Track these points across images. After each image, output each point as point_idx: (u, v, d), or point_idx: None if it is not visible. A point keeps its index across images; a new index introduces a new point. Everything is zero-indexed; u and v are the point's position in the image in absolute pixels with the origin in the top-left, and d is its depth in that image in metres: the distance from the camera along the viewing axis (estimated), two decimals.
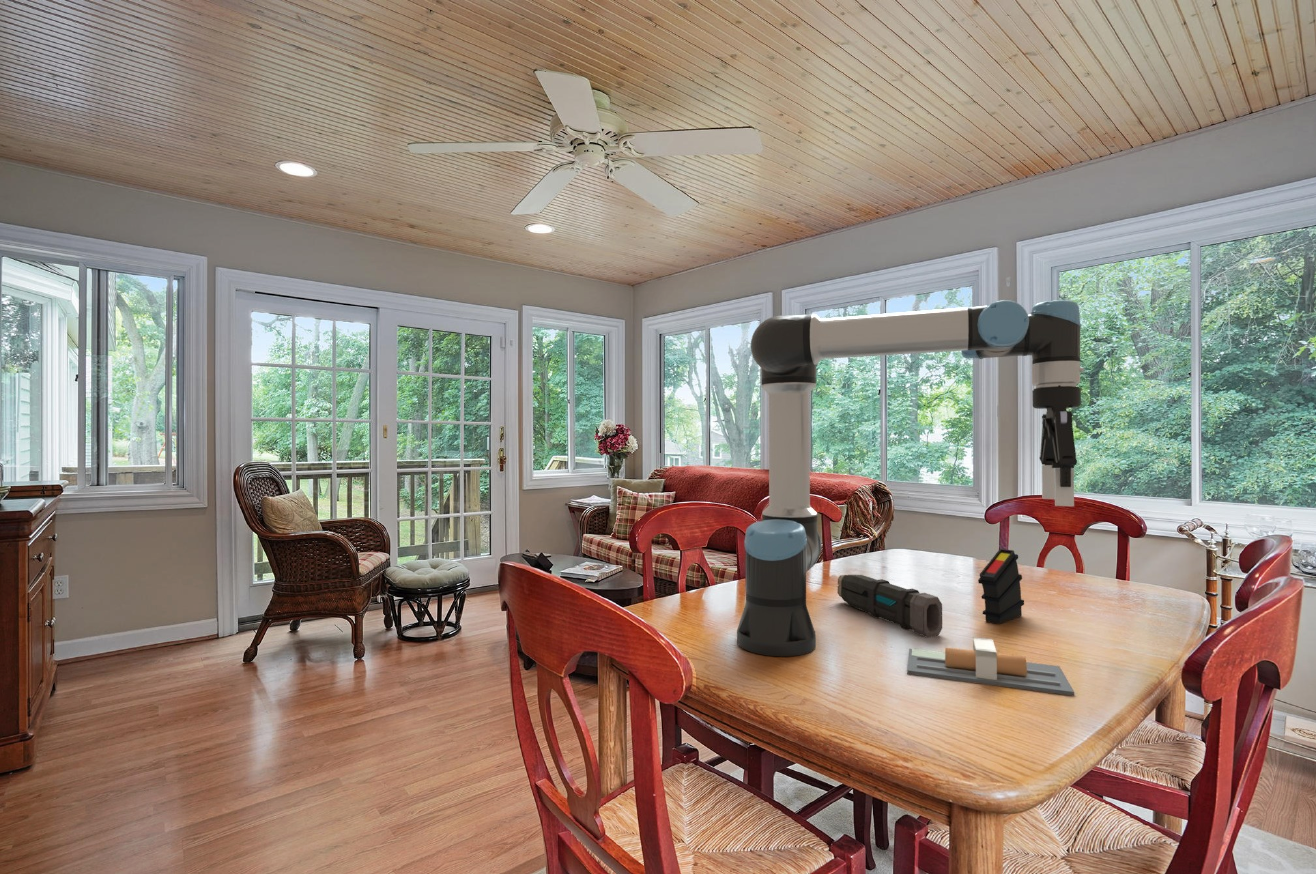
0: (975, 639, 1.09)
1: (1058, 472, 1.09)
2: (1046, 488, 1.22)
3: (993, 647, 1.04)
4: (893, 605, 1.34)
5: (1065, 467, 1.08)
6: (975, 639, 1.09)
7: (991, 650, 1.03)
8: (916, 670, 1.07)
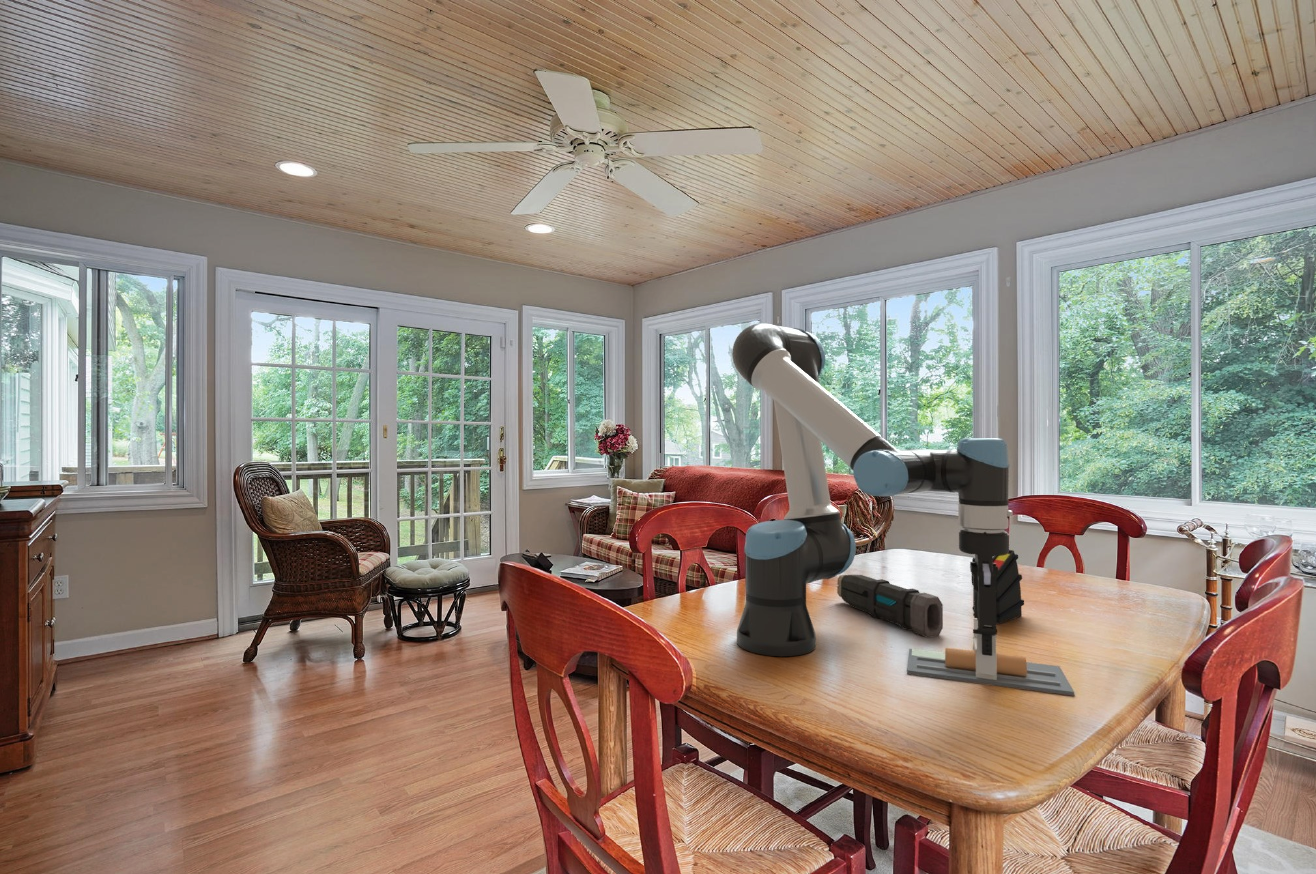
0: (975, 639, 1.09)
1: (980, 637, 1.02)
2: None
3: None
4: (893, 605, 1.34)
5: (986, 635, 1.01)
6: (975, 639, 1.09)
7: None
8: (916, 670, 1.07)
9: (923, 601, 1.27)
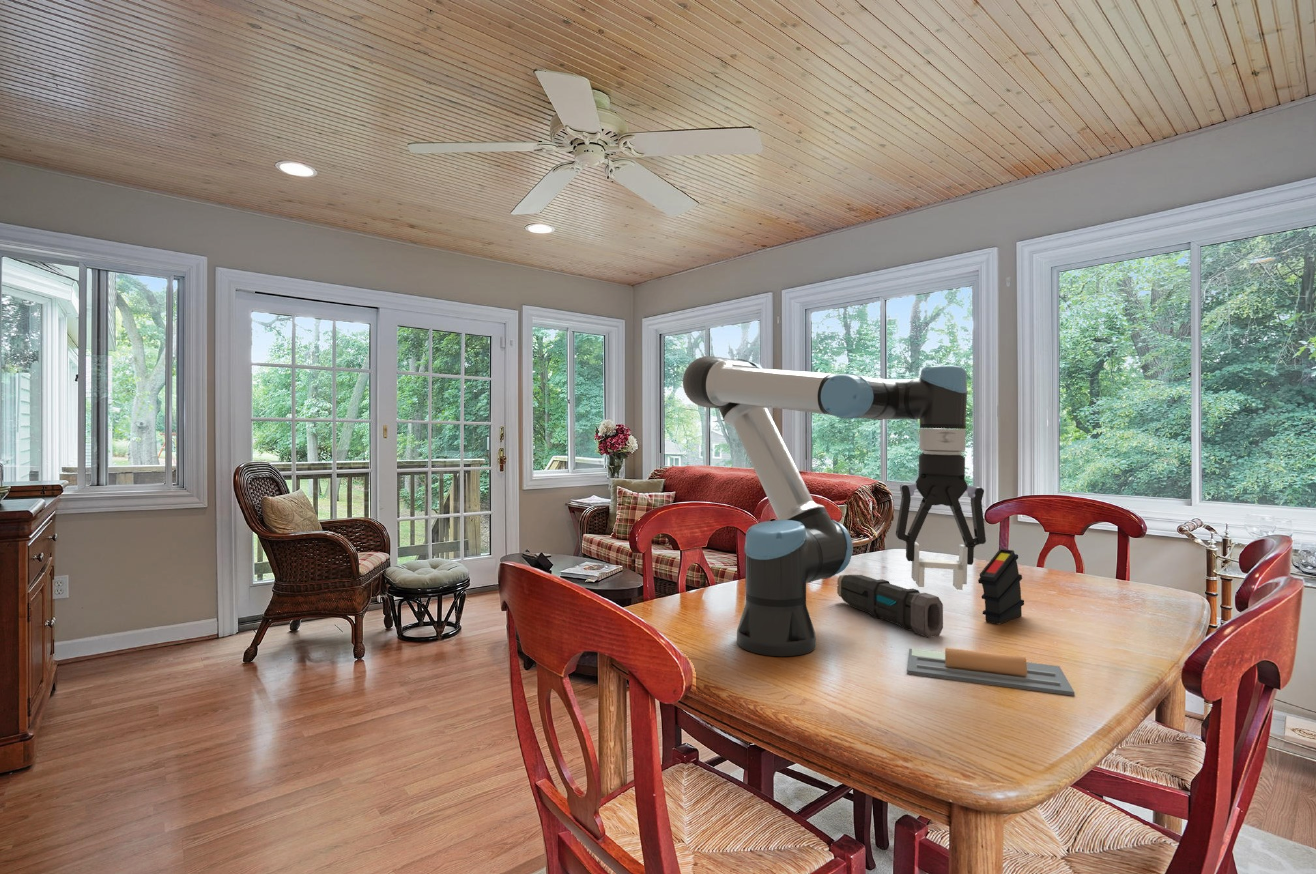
0: (951, 560, 1.13)
1: None
2: None
3: (932, 562, 1.12)
4: (893, 605, 1.34)
5: (905, 541, 1.14)
6: (952, 560, 1.13)
7: (922, 561, 1.12)
8: (916, 670, 1.07)
9: (923, 601, 1.27)
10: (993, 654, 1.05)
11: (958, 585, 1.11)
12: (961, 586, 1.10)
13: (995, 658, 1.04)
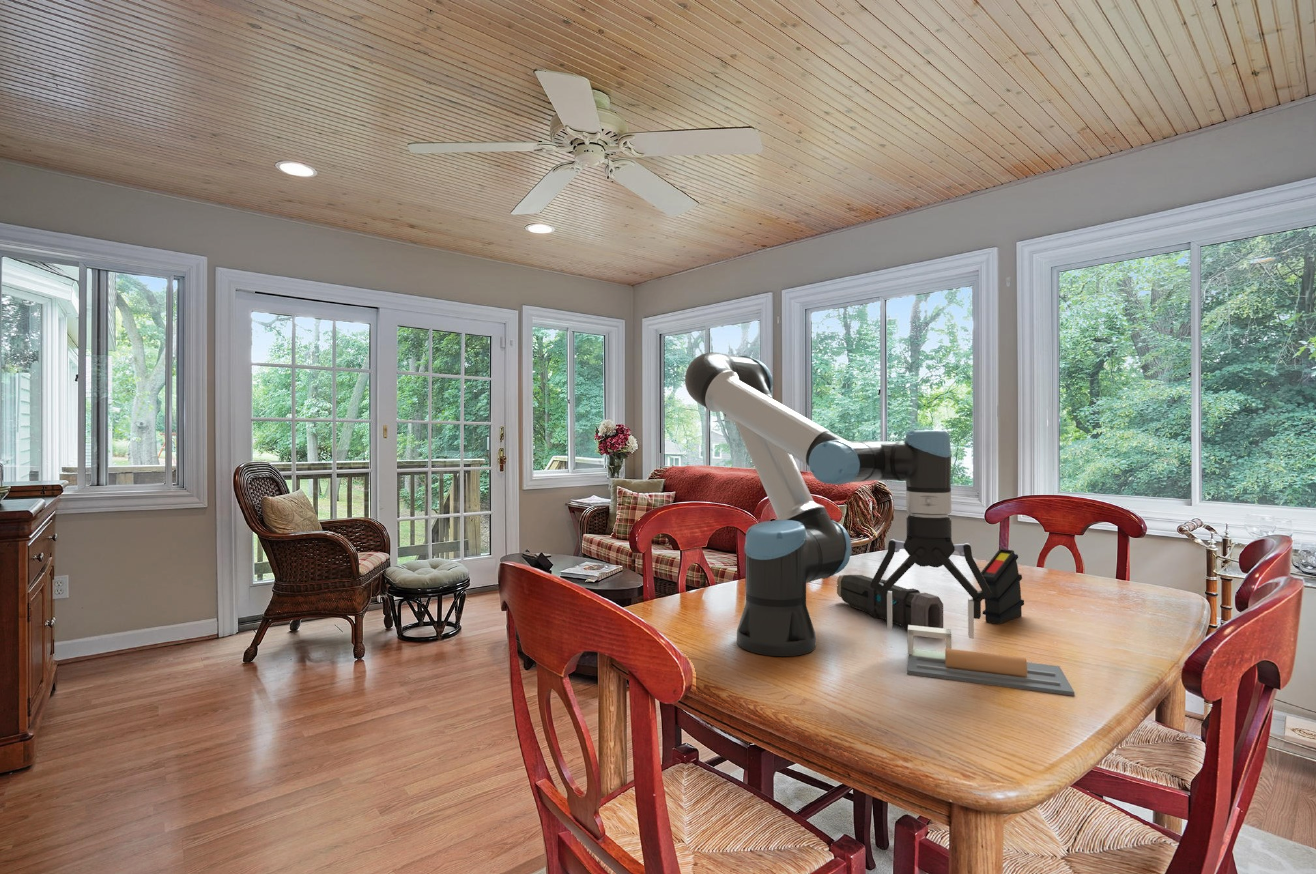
0: None
1: None
2: (968, 623, 1.12)
3: (920, 630, 1.14)
4: (894, 605, 1.34)
5: None
6: (943, 629, 1.14)
7: (911, 628, 1.15)
8: (916, 670, 1.07)
9: (924, 601, 1.27)
10: (993, 656, 1.05)
11: None
12: None
13: (996, 661, 1.04)
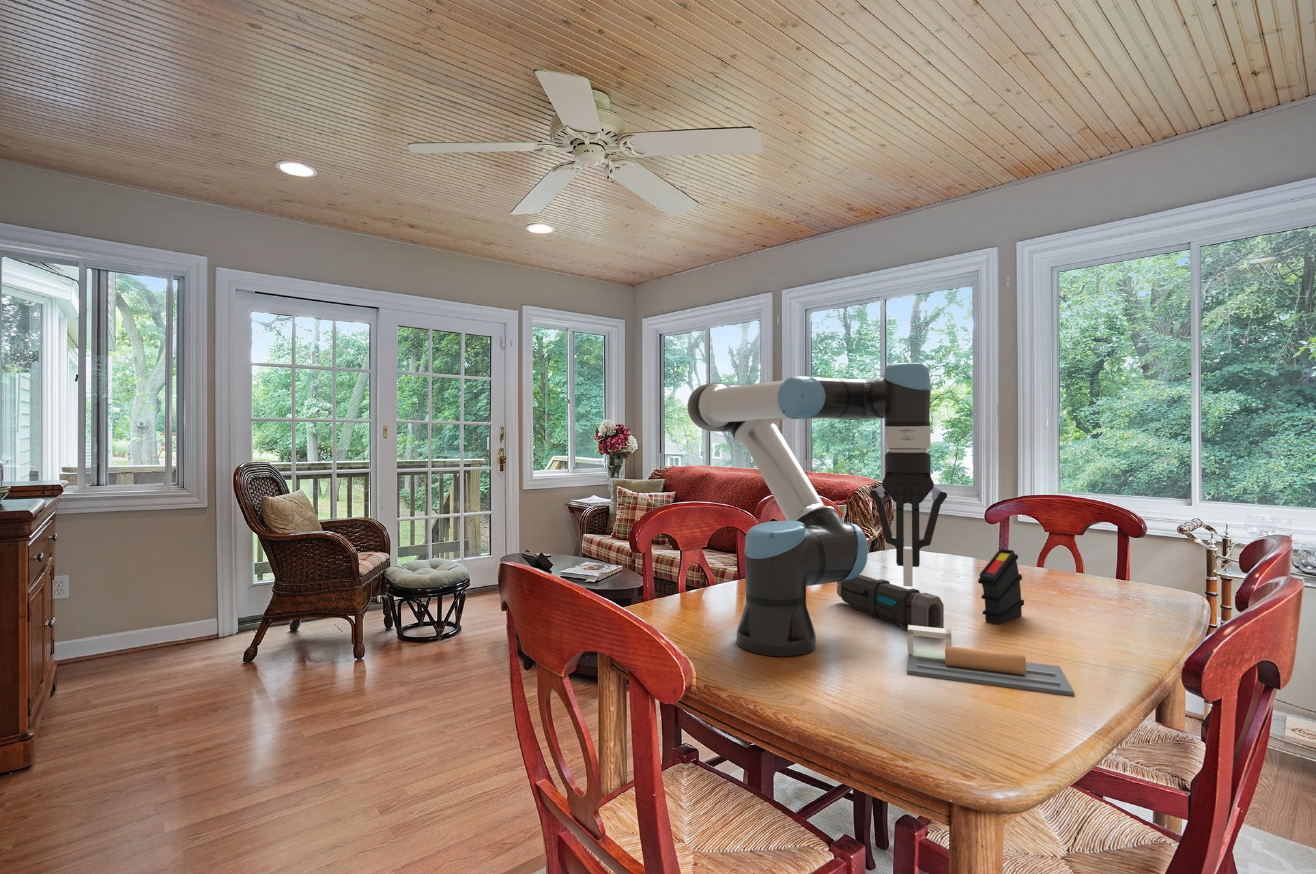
0: None
1: None
2: None
3: (920, 630, 1.14)
4: (894, 605, 1.34)
5: (894, 545, 1.12)
6: (943, 629, 1.14)
7: (911, 628, 1.15)
8: (916, 670, 1.07)
9: (924, 601, 1.27)
10: None
11: None
12: None
13: (994, 652, 1.06)
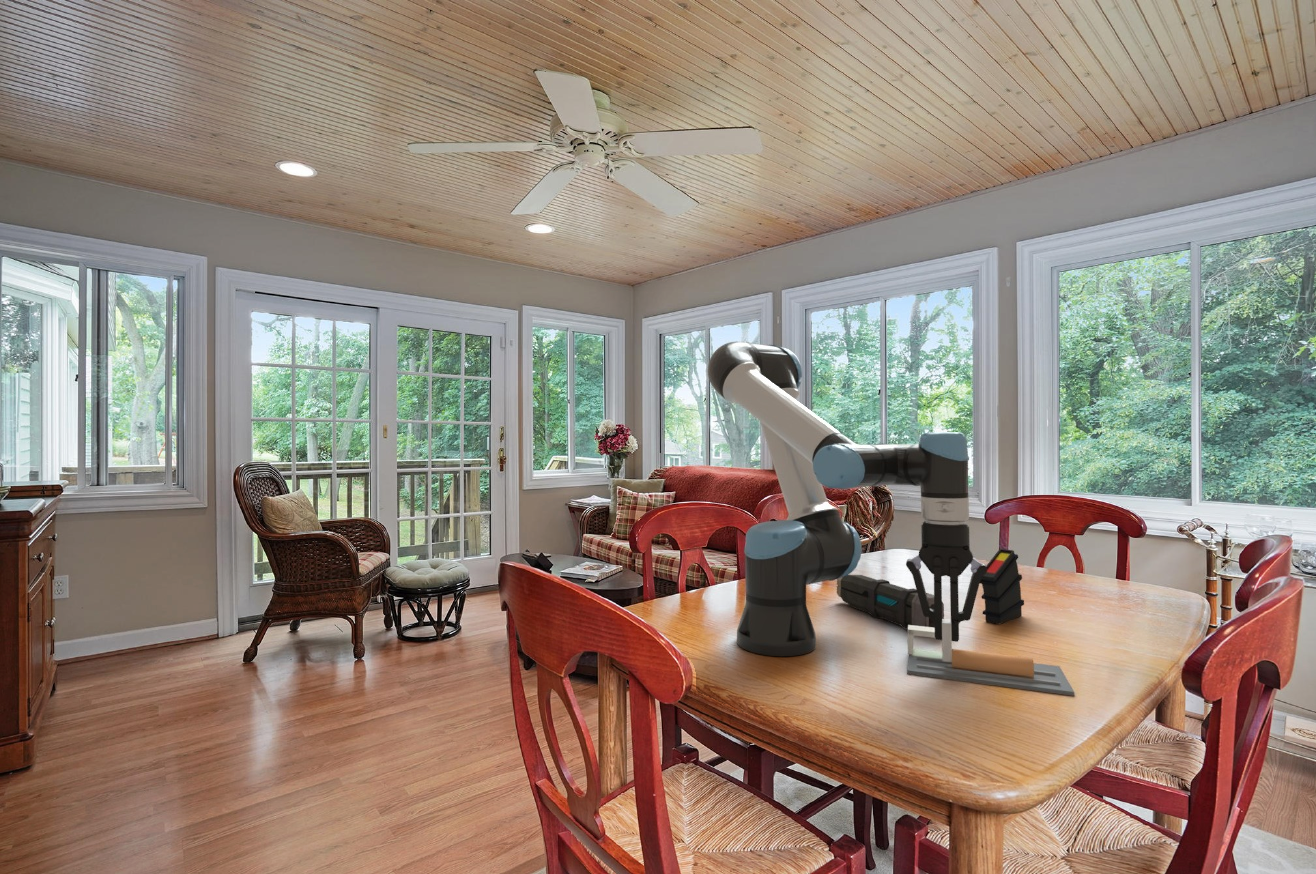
0: None
1: None
2: None
3: (920, 630, 1.14)
4: (894, 605, 1.34)
5: None
6: None
7: (911, 628, 1.15)
8: (916, 670, 1.07)
9: None
10: (1000, 656, 1.04)
11: None
12: None
13: (1002, 661, 1.03)
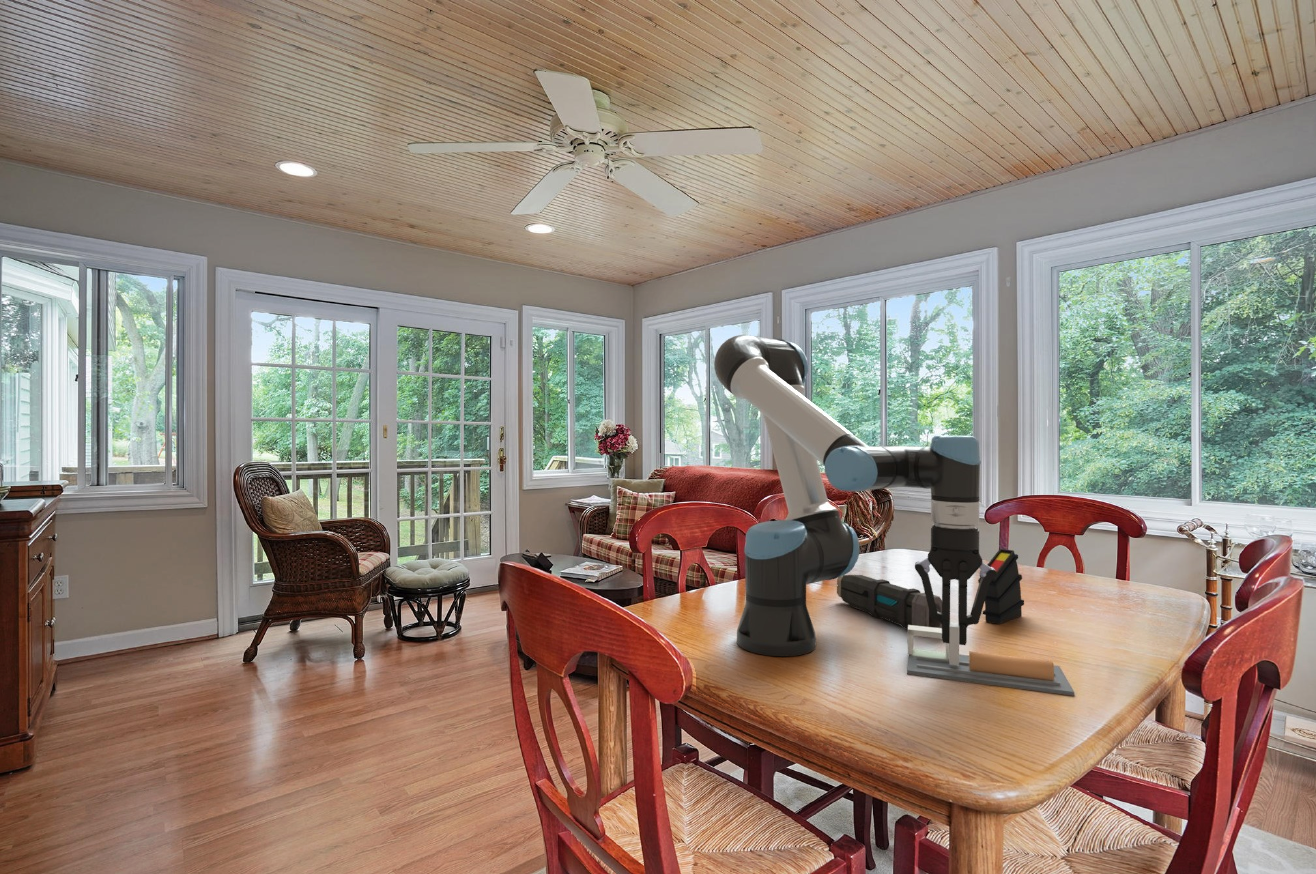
0: None
1: None
2: None
3: (920, 630, 1.14)
4: (894, 605, 1.34)
5: None
6: None
7: (911, 628, 1.15)
8: (916, 670, 1.07)
9: (925, 601, 1.27)
10: (1019, 661, 1.03)
11: (947, 654, 1.12)
12: None
13: (1022, 666, 1.02)
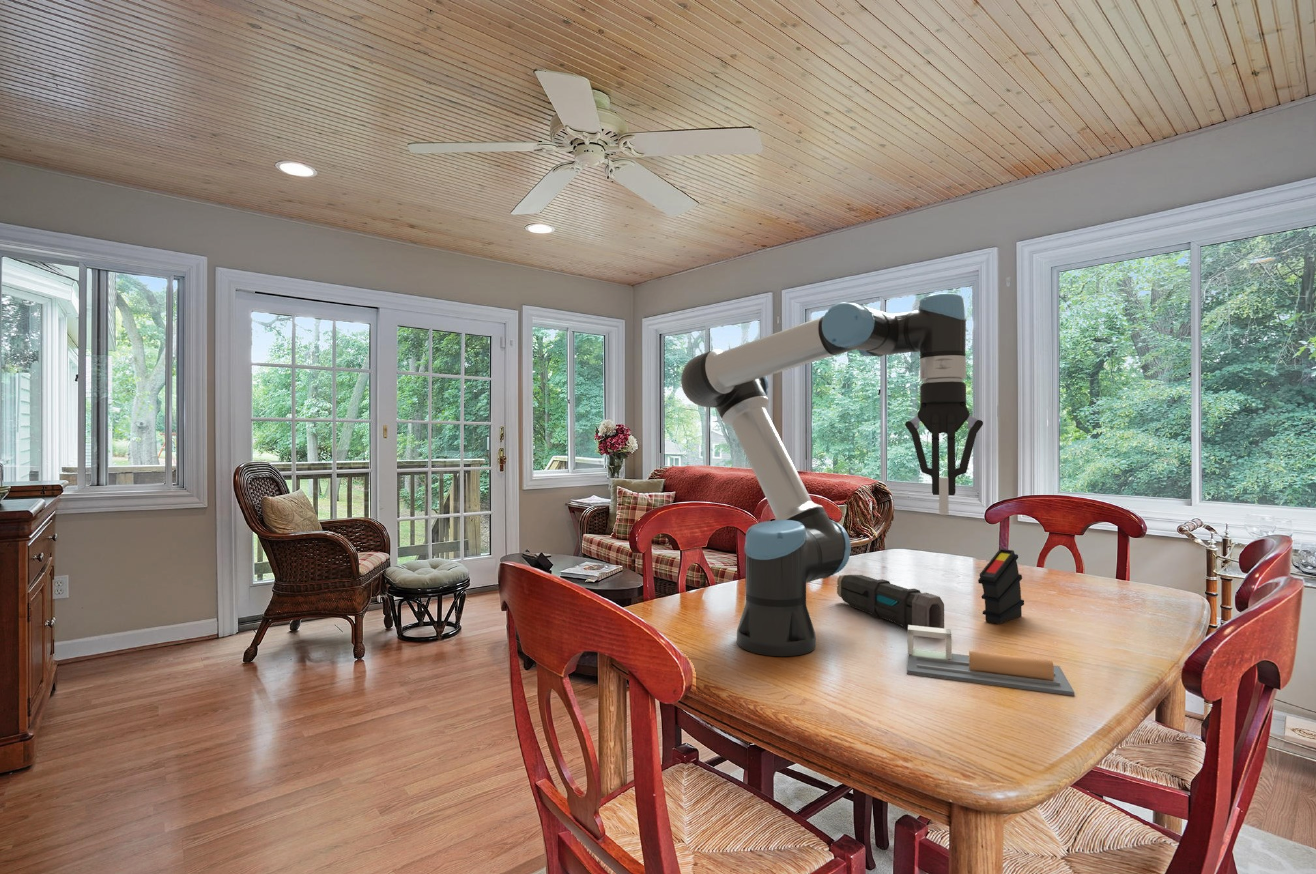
0: None
1: None
2: None
3: (920, 630, 1.14)
4: (894, 605, 1.34)
5: (930, 475, 1.14)
6: (943, 629, 1.14)
7: (911, 628, 1.15)
8: (916, 670, 1.07)
9: (925, 601, 1.27)
10: (1019, 659, 1.03)
11: (947, 654, 1.12)
12: (950, 656, 1.12)
13: (1022, 664, 1.02)
